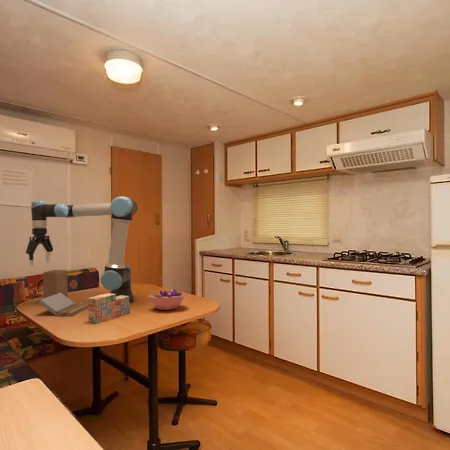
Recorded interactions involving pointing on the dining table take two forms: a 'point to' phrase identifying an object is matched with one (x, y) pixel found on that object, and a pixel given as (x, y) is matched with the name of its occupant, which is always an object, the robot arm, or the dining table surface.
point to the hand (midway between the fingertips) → (40, 264)
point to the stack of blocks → (107, 307)
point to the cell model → (167, 299)
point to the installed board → (73, 310)
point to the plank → (56, 303)
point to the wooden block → (55, 283)
